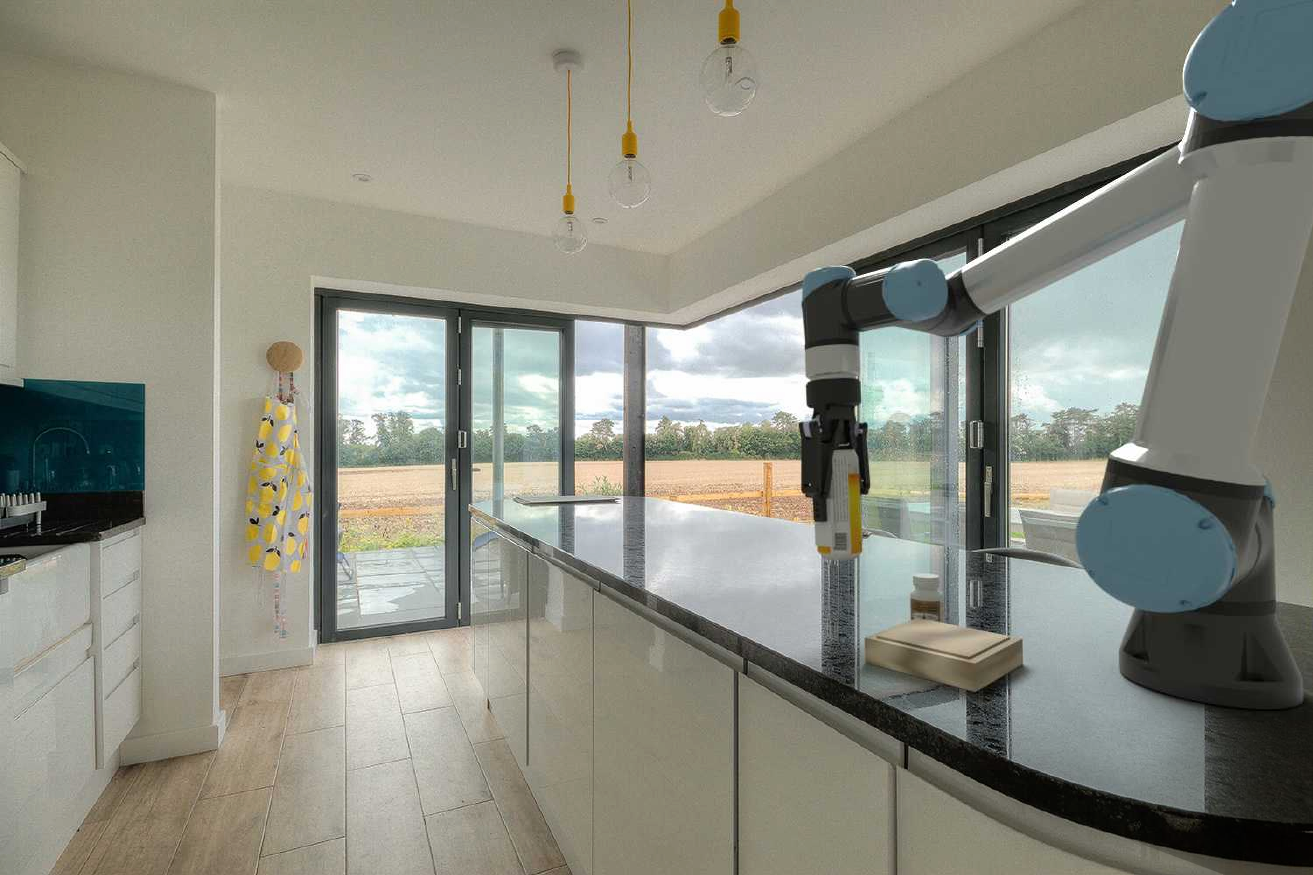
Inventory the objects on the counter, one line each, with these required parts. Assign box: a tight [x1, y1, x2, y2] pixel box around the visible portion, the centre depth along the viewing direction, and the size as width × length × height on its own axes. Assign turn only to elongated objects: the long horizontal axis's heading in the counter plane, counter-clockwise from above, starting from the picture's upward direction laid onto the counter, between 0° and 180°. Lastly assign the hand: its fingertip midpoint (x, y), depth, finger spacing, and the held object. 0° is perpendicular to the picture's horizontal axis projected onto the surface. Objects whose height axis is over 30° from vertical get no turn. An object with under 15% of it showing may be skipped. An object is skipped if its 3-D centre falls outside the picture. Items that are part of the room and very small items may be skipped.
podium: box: [864, 618, 1024, 693], centre depth 78 cm, size 13×13×3 cm
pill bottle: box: [909, 572, 945, 623], centre depth 91 cm, size 4×4×8 cm
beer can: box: [816, 450, 863, 561], centre depth 91 cm, size 6×6×15 cm
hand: (839, 542), depth 91 cm, fingers closed on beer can, 6 cm apart
